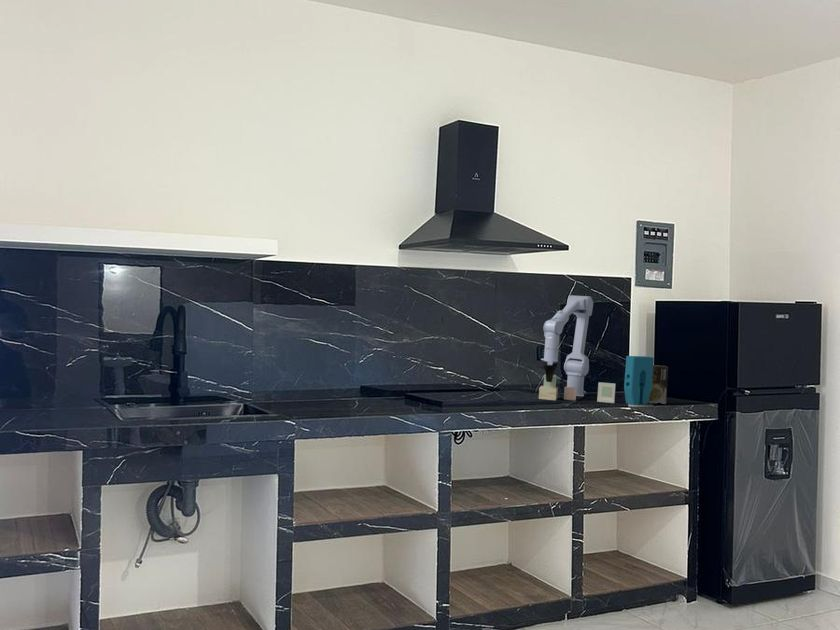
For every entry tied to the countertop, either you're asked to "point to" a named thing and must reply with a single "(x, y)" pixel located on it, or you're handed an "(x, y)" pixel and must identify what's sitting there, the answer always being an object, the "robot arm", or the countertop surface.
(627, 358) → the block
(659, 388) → the coffee box
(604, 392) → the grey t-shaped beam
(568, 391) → the pink cube
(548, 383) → the sage cube
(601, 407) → the countertop surface
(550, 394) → the base block
